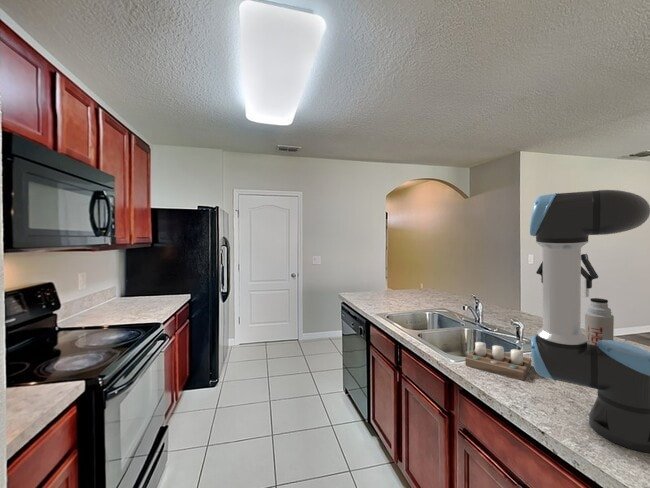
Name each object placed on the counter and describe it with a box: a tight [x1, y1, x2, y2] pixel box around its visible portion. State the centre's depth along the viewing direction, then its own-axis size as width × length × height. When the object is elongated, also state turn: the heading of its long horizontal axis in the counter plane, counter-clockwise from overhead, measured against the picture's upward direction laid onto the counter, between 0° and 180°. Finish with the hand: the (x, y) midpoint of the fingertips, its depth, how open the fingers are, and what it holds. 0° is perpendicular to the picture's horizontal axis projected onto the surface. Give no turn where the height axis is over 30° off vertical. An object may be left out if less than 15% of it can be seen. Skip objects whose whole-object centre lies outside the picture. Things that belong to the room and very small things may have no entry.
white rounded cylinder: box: [474, 341, 487, 357], centre depth 127 cm, size 4×4×5 cm
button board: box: [464, 348, 532, 381], centre depth 123 cm, size 16×20×3 cm
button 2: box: [491, 344, 505, 361], centre depth 123 cm, size 4×4×5 cm
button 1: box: [510, 348, 524, 366], centre depth 119 cm, size 4×4×5 cm
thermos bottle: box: [584, 297, 615, 345], centre depth 114 cm, size 8×8×28 cm
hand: (565, 294), depth 124 cm, fingers open, 13 cm apart
